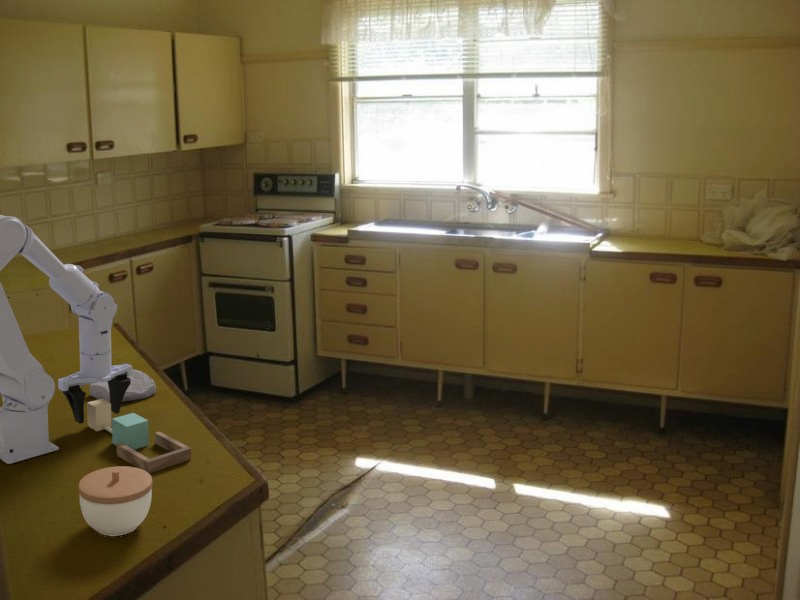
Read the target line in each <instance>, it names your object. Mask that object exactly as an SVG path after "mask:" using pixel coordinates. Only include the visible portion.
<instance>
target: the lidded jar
mask: <svg viewBox="0 0 800 600" xmlns="http://www.w3.org/2000/svg"><path fill="white" fill-rule="evenodd" d="M153 483H154V482H153V477H152V475H151V473H148V472H146V471H144V470H142V469H139V468H137V467H135V466H124V465H123V466H119V465H118V466H109V467H105V468H104V467H103V468H100V469H96V470H95V471H91V472H90V473H87V474H86V475H84V476H83V477H82V478H81V479H80V481H79V483H78V494H79V506H80V511H81V513H82V516H83V518H84V521H85V522H86V523H87V524H88V525H89V527H91V528H92V529H93V530H94V531H95V532H97V531H98V532H99V533H101V534H104V535H109V536H117V535H118V536H119V535H123V534H127V533H129V532H132V531H133V532H134V530H135V529H136V530H137V528H138V526H140V525H141V524H142V523H143V521H144V520H146V519H145V518H146V517H147V515H148V513H149V511H150V508H151V504H152V498H153V497H152V495H153V494H152V492H153V489H152V488H153V485H154V484H153ZM136 530H135V531H136ZM133 532H132V533H133Z"/></svg>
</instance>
